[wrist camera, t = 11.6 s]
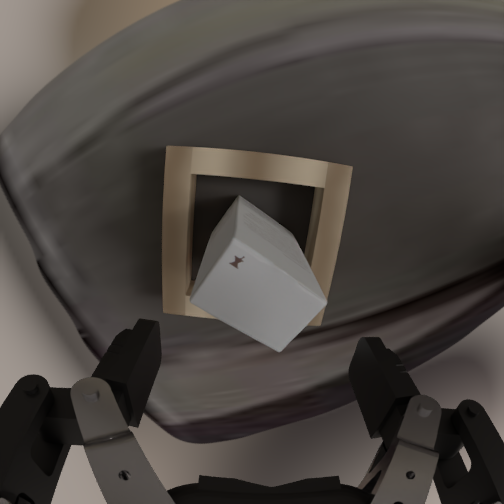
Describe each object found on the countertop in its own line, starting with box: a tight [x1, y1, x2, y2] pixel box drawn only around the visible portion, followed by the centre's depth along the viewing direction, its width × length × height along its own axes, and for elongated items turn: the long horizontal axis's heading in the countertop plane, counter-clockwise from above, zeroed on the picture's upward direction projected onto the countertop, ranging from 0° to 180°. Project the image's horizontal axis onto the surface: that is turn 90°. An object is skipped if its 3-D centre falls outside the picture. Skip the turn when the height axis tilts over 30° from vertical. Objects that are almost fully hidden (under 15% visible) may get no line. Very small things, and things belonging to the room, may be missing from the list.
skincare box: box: [190, 195, 327, 352], centre depth 20 cm, size 6×4×12 cm
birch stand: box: [162, 146, 353, 326], centre depth 24 cm, size 14×14×3 cm
